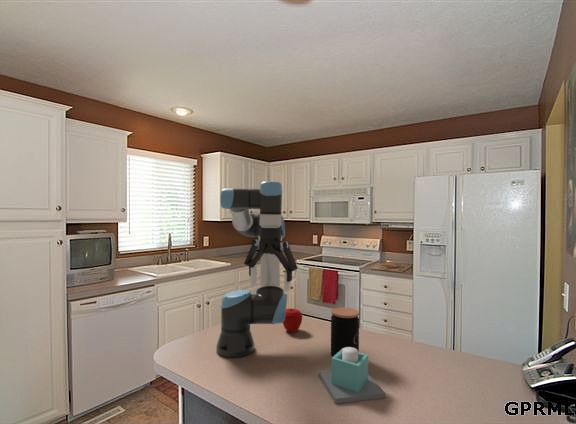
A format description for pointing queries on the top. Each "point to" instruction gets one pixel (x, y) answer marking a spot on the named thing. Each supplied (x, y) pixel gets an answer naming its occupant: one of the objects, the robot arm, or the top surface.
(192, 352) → the top surface
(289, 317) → the apple
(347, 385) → the teal storage bin
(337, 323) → the coffee jar
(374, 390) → the grey square base plate
